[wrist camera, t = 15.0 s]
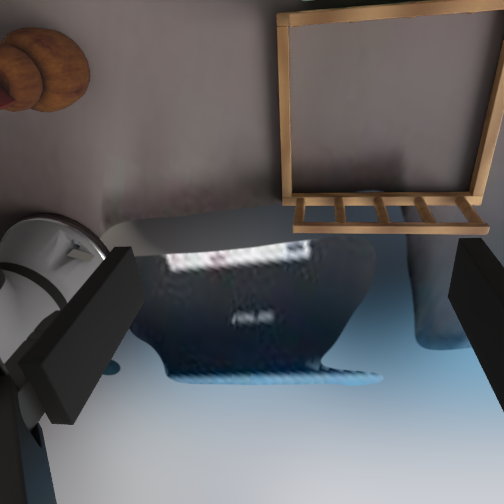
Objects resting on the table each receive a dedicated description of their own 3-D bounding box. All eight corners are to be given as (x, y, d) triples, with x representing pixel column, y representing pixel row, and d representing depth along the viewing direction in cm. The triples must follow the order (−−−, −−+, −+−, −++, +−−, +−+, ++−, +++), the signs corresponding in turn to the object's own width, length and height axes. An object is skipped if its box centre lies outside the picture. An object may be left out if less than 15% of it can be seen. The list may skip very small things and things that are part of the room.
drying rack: (283, 201, 44) (277, 233, 37) (277, 13, 35) (267, 13, 28) (476, 200, 41) (506, 235, 34) (527, -8, 31) (580, -13, 25)
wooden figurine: (108, 94, 40) (12, 131, 28) (61, 105, 42) (-51, 146, 29) (80, 19, 37) (-43, 24, 25) (30, 34, 39) (-112, 46, 26)
